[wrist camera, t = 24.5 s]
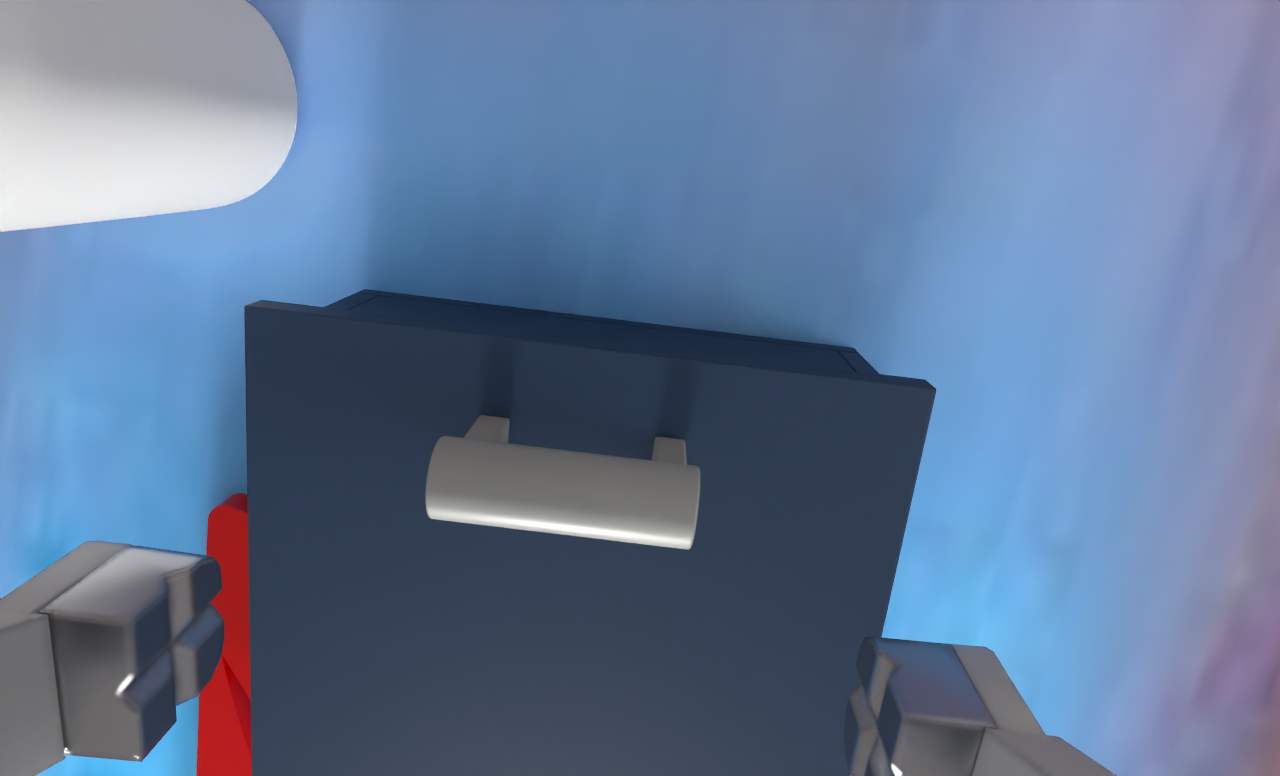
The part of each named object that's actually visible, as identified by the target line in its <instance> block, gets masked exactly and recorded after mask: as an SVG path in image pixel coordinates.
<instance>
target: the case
mask: <svg viewBox="0 0 1280 776" xmlns="http://www.w3.org/2000/svg"><path fill="white" fill-rule="evenodd" d="M324 308H332V309H340V310H349V311H357V312H365V313H374V314H382V315H390V316H399V317H407V318H415V319H424V320H432V321H440V322H449V323H457V324H465V325H474V326H482V327H490V328H499V329H507V330H515V331H524V332H532V333H540V334H548V335H557V336H565V337H573V338H582V339H590V340H598V341H607V342H615V343H623V344H632V345H640V346H648V347H657V348H665V349H673V350H682V351H690V352H698V353H707V354H715V355H723V356H732V357H740V358H748V359H757V360H765V361H773V362H782V363H790V364H798V365H806V366H815V367H823V368H831V369H840V370H848V371H856V372H865V373H873V374H879V373H878V372H877V371H876V370H875V369H874V368H873V367H872V366H871V365H870V364H869V363H868V362H867V361H866V360H865V359H864V358H863V357H862V356H861V355H860V354H859V353H858V352H857V351H856V350H855V349H854V348H849V347H840V346H832V345H824V344H815V343H807V342H799V341H790V340H782V339H774V338H765V337H757V336H749V335H740V334H732V333H724V332H715V331H707V330H699V329H691V328H682V327H674V326H666V325H657V324H649V323H641V322H632V321H624V320H616V319H607V318H599V317H591V316H582V315H574V314H566V313H557V312H549V311H541V310H532V309H524V308H516V307H508V306H499V305H491V304H483V303H474V302H466V301H458V300H449V299H441V298H433V297H424V296H416V295H408V294H399V293H391V292H383V291H374V290H366V289H365V290H362V291H360V292H358V293H355V294H353V295H351V296H348V297H346V298H344V299H342V300H339V301H337V302H335V303H332V304H330V305H328V306H325V307H324Z"/></svg>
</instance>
